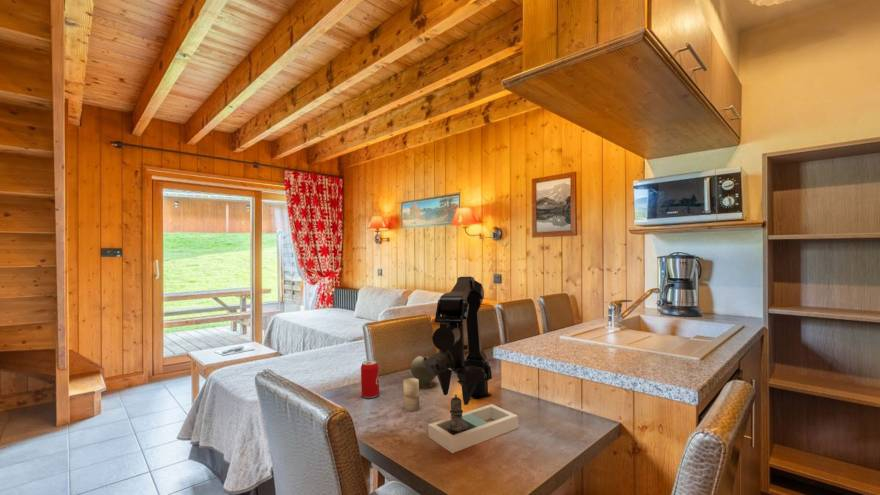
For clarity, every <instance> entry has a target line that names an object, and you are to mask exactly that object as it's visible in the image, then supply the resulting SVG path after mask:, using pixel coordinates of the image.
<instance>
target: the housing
mask: <svg viewBox="0 0 880 495" xmlns="http://www.w3.org/2000/svg"><path fill="white" fill-rule="evenodd" d="M518 416H519V415H517V414H514V413H513V412H510V411H508V410H506V409H504V408H502V407H499V406H497V405H495V404H492V403H491V404H488V405H485V406H482V407H478V408H475V409H472V410H468V411H465V412H463V413H462V420H463V422H465V423H467V425H468V427H467V430H466V431H464V432H461V433H459V434H456V435H452V434H450V433H448V430H447V428H446V425H447V423H449V422H451V416H450V417H447V418H444V419H441V420H437V421H435V422H432V423H429V424H428V426H427V428H428V438H429V439H430V440H432V441H433V442H435V443H437V444H438V445H439V446H441V447H443V448H444V449H445V450H446V451H449V453H452V454H454V453H456V452H460V451H462V450H465V449H467V448H470V447H473V446H475V445H478V444H479V443H483V442H485V441H488V440H491V439H493V438H497V437H498V436H499V437H500V436H501V435H504V434H506V433H509V432H511V431H515V430H517V429H518V428H519V418H518ZM491 419H492V420H493V421H490V422H488V420H491Z"/></svg>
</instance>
